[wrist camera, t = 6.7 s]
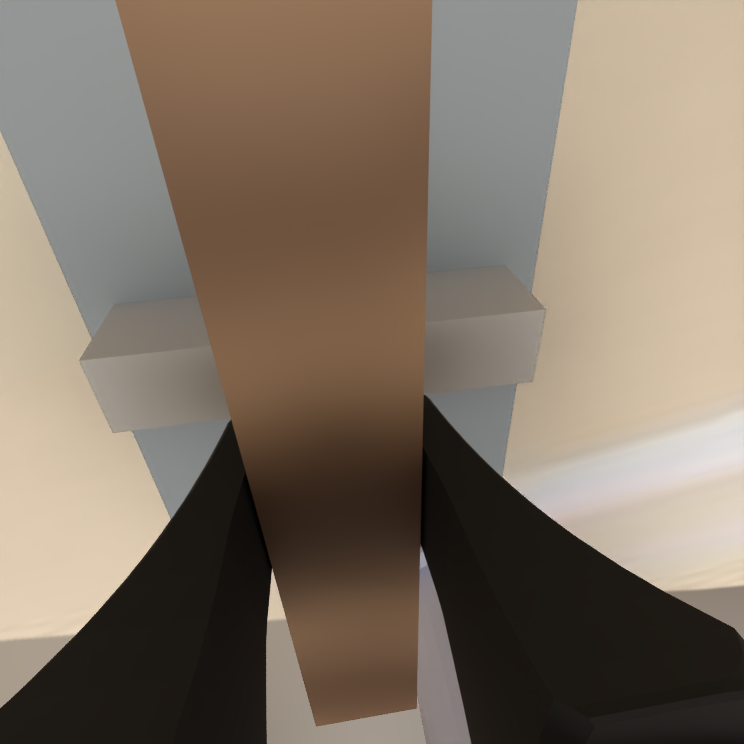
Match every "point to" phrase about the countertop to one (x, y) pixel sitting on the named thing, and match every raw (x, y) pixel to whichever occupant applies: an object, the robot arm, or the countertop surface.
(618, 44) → the countertop surface
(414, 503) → the walnut batten
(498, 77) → the ridge board
